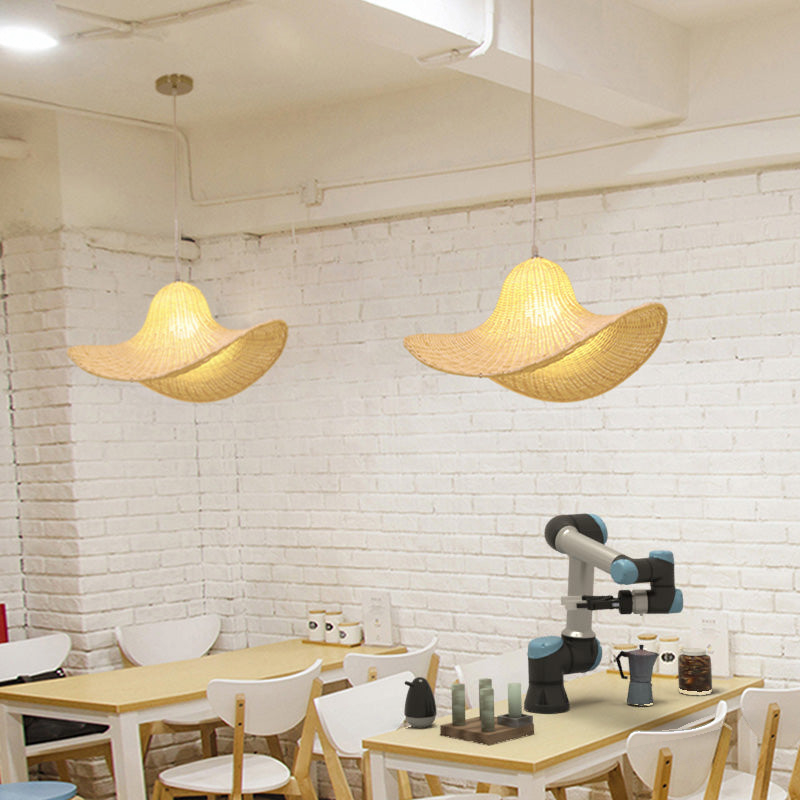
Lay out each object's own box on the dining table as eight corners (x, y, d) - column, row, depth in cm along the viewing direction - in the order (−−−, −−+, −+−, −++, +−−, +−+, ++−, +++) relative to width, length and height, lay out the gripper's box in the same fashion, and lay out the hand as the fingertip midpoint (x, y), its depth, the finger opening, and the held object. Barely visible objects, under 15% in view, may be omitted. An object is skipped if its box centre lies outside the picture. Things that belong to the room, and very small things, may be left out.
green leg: (506, 723, 355) (505, 683, 356) (517, 722, 357) (516, 682, 357) (513, 726, 351) (512, 685, 352) (524, 724, 353) (523, 684, 354)
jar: (719, 693, 412) (718, 650, 413) (696, 697, 406) (694, 653, 407) (695, 688, 422) (693, 646, 423) (671, 692, 416) (670, 649, 417)
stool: (440, 735, 355) (439, 685, 356) (485, 724, 368) (484, 676, 369) (488, 745, 340) (487, 692, 341) (534, 734, 354) (532, 683, 355)
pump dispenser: (398, 725, 371) (397, 676, 372) (427, 721, 375) (426, 673, 376) (413, 730, 362) (412, 681, 363) (442, 727, 366) (441, 677, 367)
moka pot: (666, 705, 392) (664, 645, 394) (624, 709, 388) (622, 647, 390) (653, 700, 401) (651, 641, 403) (612, 703, 397) (610, 644, 399)
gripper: (638, 619, 351) (567, 620, 352) (626, 609, 376) (559, 610, 377) (637, 593, 352) (566, 595, 353) (625, 586, 377) (559, 587, 378)
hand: (562, 603), depth 365 cm, fingers open, 13 cm apart
